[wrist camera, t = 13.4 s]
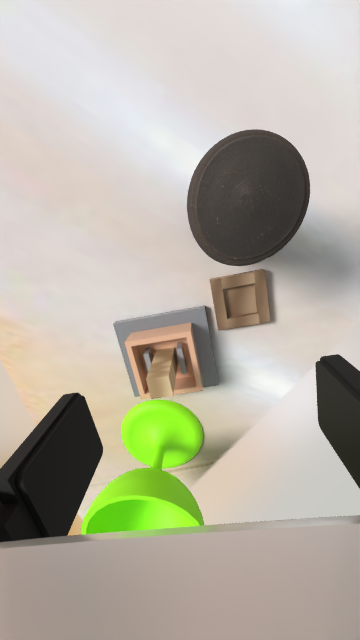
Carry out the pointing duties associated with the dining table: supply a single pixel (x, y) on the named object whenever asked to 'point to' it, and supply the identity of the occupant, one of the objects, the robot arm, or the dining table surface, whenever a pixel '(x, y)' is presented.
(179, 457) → the wineglass
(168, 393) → the tan wooden bar
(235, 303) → the brown square tray
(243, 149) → the container
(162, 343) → the grey base square tray
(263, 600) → the robot arm
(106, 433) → the dining table surface
